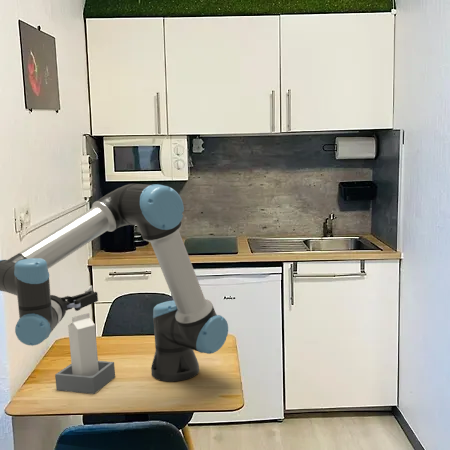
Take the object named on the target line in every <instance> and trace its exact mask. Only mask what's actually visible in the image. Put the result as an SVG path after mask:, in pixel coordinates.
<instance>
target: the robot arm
mask: <svg viewBox="0 0 450 450" xmlns="http://www.w3.org/2000/svg"><path fill="white" fill-rule="evenodd" d="M184 207H185V206H184V202H183V199H182V197H181V195H180V194H179V193H178V192H177V191H176V190H175V189H174V188H172V187H170V186H168V185H163V184H159V183H157V184H154V183H153V184H145V183H144V184H142V183H129V184H125V185H122V186H121V187H118V188H116V189H114V190H112V191H110V192H108V193H107V194H105V195H104V196H102V197H101V198H99V199H97V200H96V201H94V202H93V203H92V204H91V208H90V209H88V210H86V211H85V212H83V213H81V214H80V215H78V216H77V217H75V218H74V219H72V220H70V221H69V222H67V223H65V224H64V225H62V226H61V227H58V228H57V229H55V230H54V231H53V232H51V233H49V234H48V235H46V236H44V237H42V238H41V239H40V240H38V241H36V242H35V243H33V244H31V245H30V246H28V247H27V248H25V249H24V250H22V251H20V252H19V253H16V254H14V255H13V256H11V257H10V258H8V259H0V292H4V293H8V294H11V295H13V296H17V304H18V305H17V306H18V315H19V319H18V320H17V323H16V324H15V328H14V333H15V336H16V337H17V340H18V341H20V342H21V343H22V344H24V345H27V346H32V347H33V346H37V345H40V344H41V343H43V342H44V341H45V340H47V339H48V338H49V336H50V335H51V333H52V332H53V330H54V329H56V327H57V326H58V324H60V322H61V321H62V320H63V318H64V317H65V315H66V313H67V311H69V310H72V309H74V311H76V312H77V311H81V309H82V308H85V307H88V306H90V305H93V304H94V303H97V302H99V298H98V297H99V296H98V292H97V291H94V290H93V285H89V286H88V287H87V288H86V290H85V291H84V292H83V293H80V294H77V295H73V296H69V295H67V296H63V297H60V296H58V295H54V294H51V286H50V285H51V284H50V283H51V282H50V272H49V269H50V268H52V267H53V266H54V265H56V264H57V263H59V262H61V261H62V260H64V259H66V258H68V256H70V255H72V254H74V253H75V252H76V251H78V250H79V249H81V248H82V247H84V246H86V245H87V244H89V243H90V242H92V241H93V240H95V239H97V238H98V237H100V236H101V235H103V234H104V233H106V232H115V230H117V229H119V228H121V227H124V226H129V225H130V226H137V228H138V230H139V232H140V235H141V237H142V239H143V241H146V242H149V243H150V245H151V247H152V249H153V252H154V255H155V257H156V259H157V261H158V265H159V267H160V270H161V272H162V274H163V276H164V279H165V282H166V284H167V287H168V289H169V292H170V294H171V297H172V299H173V300H166V301H164V302H163V301H162V302H160V303H157V304H156V305H155V306H154V307H153V309H152V314H153V315H152V319H153V321H152V322H153V331H154V333H153V334H154V344H155V345H154V347H155V352H154V355H153V360H152V364H151V367H150V369H151V370H150V371H151V376H152V377H153V378H154V379H156V380H157V381H158V380H159V381H163V382H180V381H185V380H190V379H192V378H194V377H195V376H197V375H198V374H199V372H200V365H199V361H198V359H197V356H196V354H195V351H197V352H198V353H200V354H202V353H203V354H208V355H211V354H215V353H216V352H218V351H219V350H220V349H221V348H222V347H223V346H224V344H225V342H226V341H227V337H228V334H229V325H228V321H227V319H226V318H225V317H224V316H222V315H221V314H217V313H216V311H215V308H214V305H213V303H212V301H210V300H208V299H206V298H205V296H204V292H203V289H202V288H201V284H200V283H199V280H198V277H197V274H196V271H195V269H194V267H193V264H192V262H191V259H190V256H189V253H188V251H187V248H186V246H185V243H184V240H183V238H182V235H181V232H180V230H181V228H182V225H183V223H182V220H183V217H184V215H183V213H184V212H185V209H184Z"/></svg>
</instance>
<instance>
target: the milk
mask: <svg viewBox="0 0 450 450" xmlns="http://www.w3.org/2000/svg"><path fill="white" fill-rule="evenodd" d="M67 329H68V336H69V338H68V339H69V350H70V362H71V363H70V364H72V375H81V376H93V375H94V374H96V373H97V372H98V371H99V368H98V361H99V357H98V346H97V333H96V332H97V331H96V324H95V323H94V321H93V320H92V318H90V313H89V312H88V313H84V314H80V315H75V316H73V317H72V318H71V322H70V323H69V324H68V325H67Z"/></svg>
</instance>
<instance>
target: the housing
mask: <svg viewBox="0 0 450 450" xmlns="http://www.w3.org/2000/svg"><path fill="white" fill-rule="evenodd" d="M98 368H99V371H98V372H97V373H96V374H94V375H93V376H81V375H72V364H71V363H70V364H69V365H66V367H64V368H63V369H61V370H59V371H58V372H57V373H55V374H54V376H55V387H56V391H59V392H60V391H62V392H70V393H82V394H90V395H91V394H92V395H95V394H96V393H97V392H98V391H100V390H101V389H103V388H104V387H105V386H107V385H108V384H109V383H110V382H111V381H112V380H113V379H115V378H116V367H115V362H114V361H106V360H105V361H104V360H98Z"/></svg>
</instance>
